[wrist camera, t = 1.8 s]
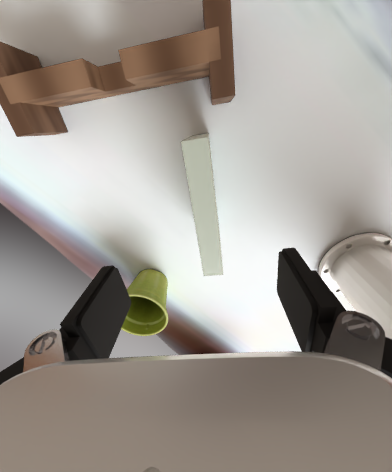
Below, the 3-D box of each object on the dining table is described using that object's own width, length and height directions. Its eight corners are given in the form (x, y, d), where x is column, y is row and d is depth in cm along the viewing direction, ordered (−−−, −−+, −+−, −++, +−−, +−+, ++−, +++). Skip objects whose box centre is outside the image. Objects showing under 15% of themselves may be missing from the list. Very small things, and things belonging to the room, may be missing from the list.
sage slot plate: (208, 133, 26) (207, 137, 16) (218, 227, 33) (223, 274, 22) (192, 135, 27) (180, 141, 16) (205, 228, 33) (203, 276, 23)
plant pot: (119, 269, 39) (97, 304, 31) (161, 254, 36) (149, 288, 29) (144, 302, 42) (129, 340, 35) (183, 290, 40) (177, 328, 33)
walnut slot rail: (224, 11, 21) (229, -28, 16) (229, 101, 25) (235, 95, 19) (21, 60, 24) (-32, 42, 19) (53, 134, 28) (17, 136, 22)
